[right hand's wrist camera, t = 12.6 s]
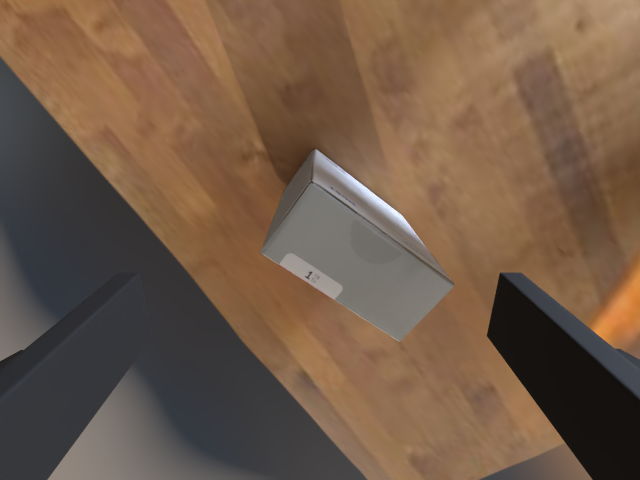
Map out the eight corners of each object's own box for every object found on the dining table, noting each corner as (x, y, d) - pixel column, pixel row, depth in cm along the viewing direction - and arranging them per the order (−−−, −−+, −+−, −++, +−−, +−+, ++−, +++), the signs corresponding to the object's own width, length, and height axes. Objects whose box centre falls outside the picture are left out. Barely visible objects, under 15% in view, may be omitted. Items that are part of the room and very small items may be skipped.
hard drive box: (280, 193, 46) (254, 250, 28) (314, 146, 44) (310, 174, 26) (369, 256, 50) (399, 344, 31) (405, 215, 48) (459, 284, 29)
